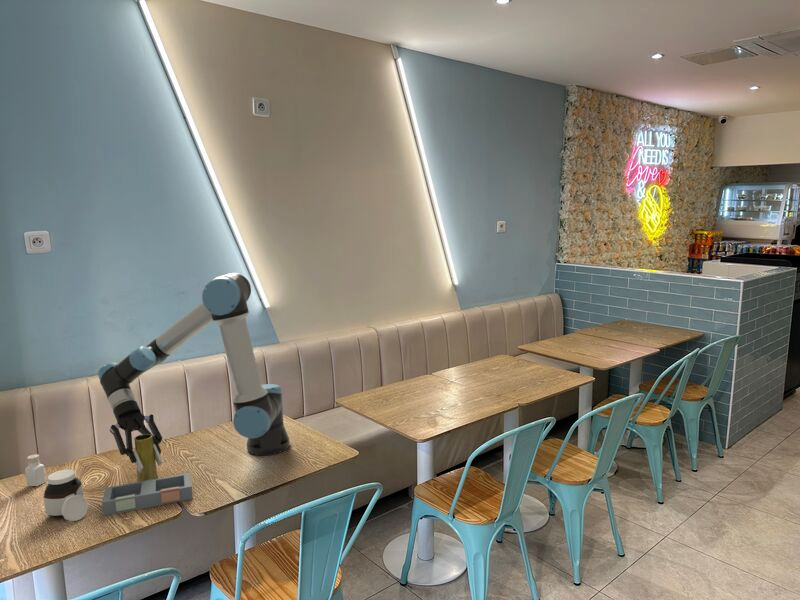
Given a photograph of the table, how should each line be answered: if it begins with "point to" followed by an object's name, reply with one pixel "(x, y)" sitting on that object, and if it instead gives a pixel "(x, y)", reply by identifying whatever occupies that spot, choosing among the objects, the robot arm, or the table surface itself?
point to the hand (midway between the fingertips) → (151, 466)
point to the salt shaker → (35, 471)
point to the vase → (146, 457)
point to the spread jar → (65, 496)
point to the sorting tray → (146, 494)
